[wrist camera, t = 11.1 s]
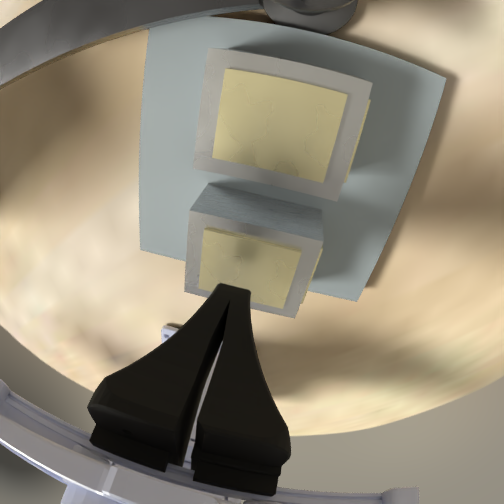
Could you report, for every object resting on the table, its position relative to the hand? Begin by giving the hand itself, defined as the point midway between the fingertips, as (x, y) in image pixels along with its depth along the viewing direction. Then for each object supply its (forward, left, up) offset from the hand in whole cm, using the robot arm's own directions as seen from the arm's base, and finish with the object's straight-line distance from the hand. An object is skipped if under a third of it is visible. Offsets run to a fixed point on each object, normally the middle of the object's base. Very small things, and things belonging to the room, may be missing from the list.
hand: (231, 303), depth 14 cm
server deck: (+6, 0, -6) cm, 9 cm away
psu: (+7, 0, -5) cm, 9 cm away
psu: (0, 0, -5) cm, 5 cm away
